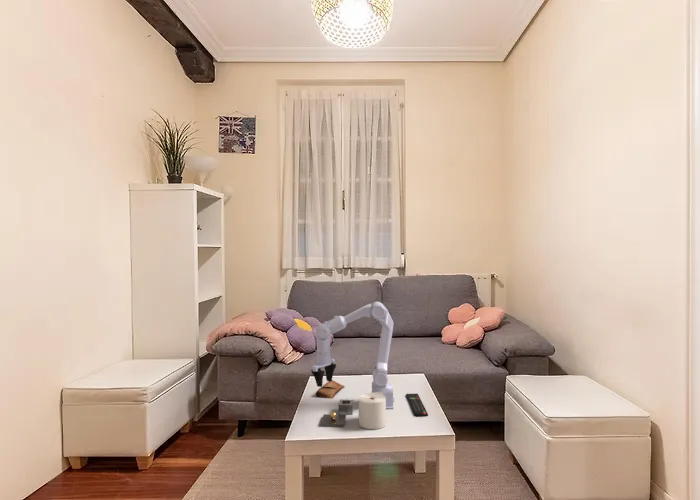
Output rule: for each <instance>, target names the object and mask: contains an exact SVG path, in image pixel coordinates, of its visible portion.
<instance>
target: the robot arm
mask: <svg viewBox="0 0 700 500" xmlns="http://www.w3.org/2000/svg"><path fill="white" fill-rule="evenodd" d="M371 316H372V318H373V319H375V320H377V321H379V323H380V325H381V326H382V327H381V331H380V339H379V344H378V349H377V350H378V352H377V358H376V361H375V366H374V368H373V369H372V372H371V374H372V375H371V376H372V380H373V381H372V382H371V393H373V392H384V396H385V397H386V409H394V403H395V397H394V384H391V383H390V382H389V378H388V362H389V356H390V349H391V343H392V337H393V332H394V324H395V323H394V321H393V319H392V316H391V314H390V313H389V310H388V308H387V307H386V306H385V305H384V304H383V303H382V302H380V301H374V302H372V303H368V304H366V305H364V306H362V307H360V308H358V309H356V310H354V311H351V312H350V313H348V314H346V315H344V316H342V315H335V316H334V317H333V318H331V319H329V320H328V321H327V320H326V321H323V323H320V324H318V326H317V327H316V330H315V334H316V361H315V362H314V363H315V364H314V365H313V366H312V369H311V373H312V375H313V377H314V380H315V384H316V386H317V387H319V388H321V387H322V386H323V383H324V382H323V380H324V376H325V377H326V378H325V379H326V381H327V382H329V381H330V382H331V381H332V380H333V375H334V372H335V370H336V367H337V364H336V363H335V362H336V361H335V358H333V357H331V341H330V335H333V334H336V333H338V332H339V331H341V330H342V331H343V330H344V329H345V328H347V324H350V323H351V322H354V321H356V320H358V319H360V318H364V317H366V318H371ZM323 368H324V370H322V369H323ZM324 374H325V375H324ZM389 383H390V384H389Z"/></svg>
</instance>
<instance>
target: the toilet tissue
mask: <svg viewBox="0 0 700 500" xmlns="http://www.w3.org/2000/svg"><path fill="white" fill-rule="evenodd" d="M358 425H359V426H360V427H362V428H364V429H367V430H378V429H382V428H385V426H386V425H387V408H386V397H385V396H384V392H373V393H372V392H368V393H364V394H361V395H359V396H358Z"/></svg>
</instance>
